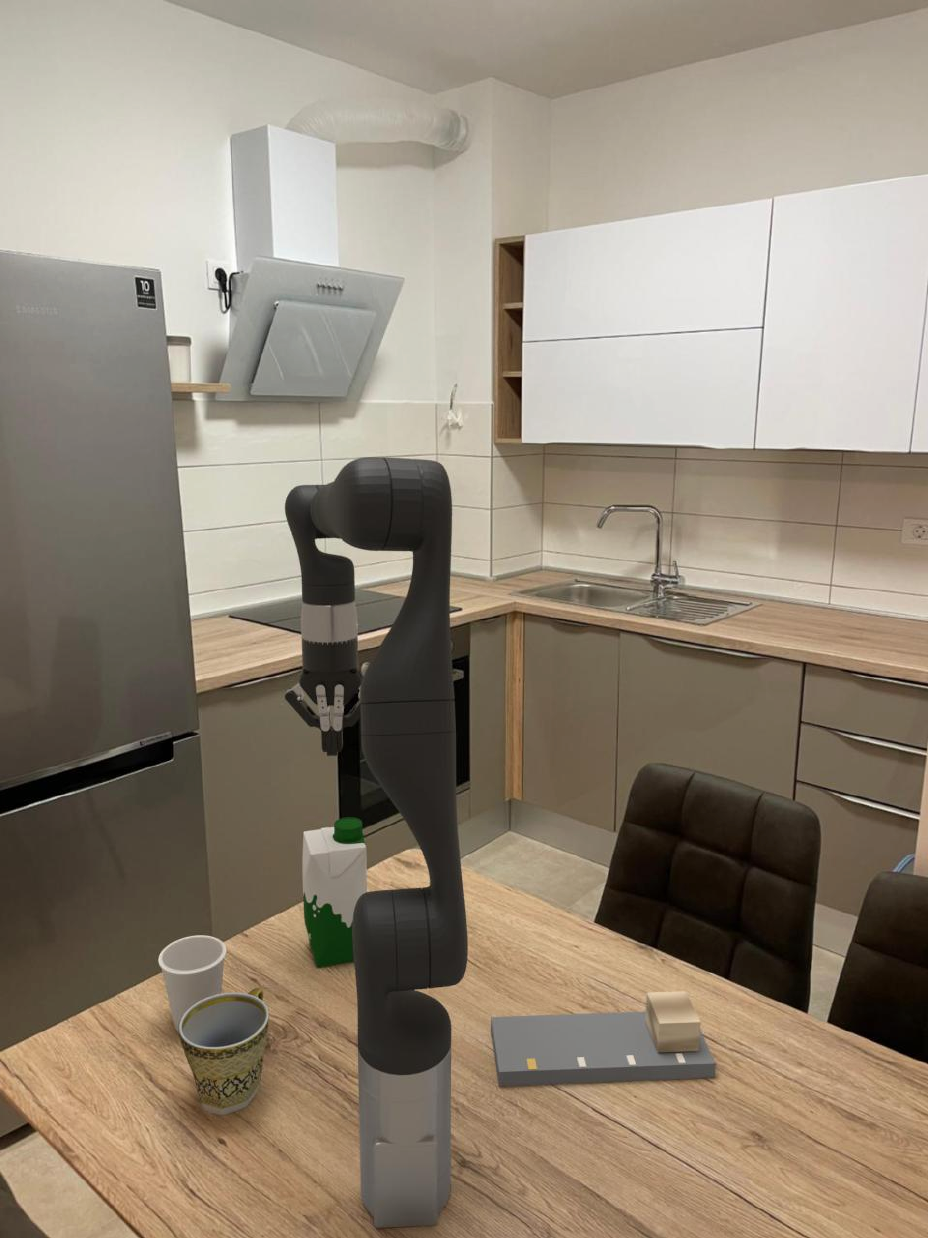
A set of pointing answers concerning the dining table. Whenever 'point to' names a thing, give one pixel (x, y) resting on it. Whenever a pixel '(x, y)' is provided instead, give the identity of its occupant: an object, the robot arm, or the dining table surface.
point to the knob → (672, 1021)
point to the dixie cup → (192, 971)
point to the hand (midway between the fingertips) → (332, 754)
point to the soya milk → (333, 888)
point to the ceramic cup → (226, 1048)
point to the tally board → (588, 1050)
